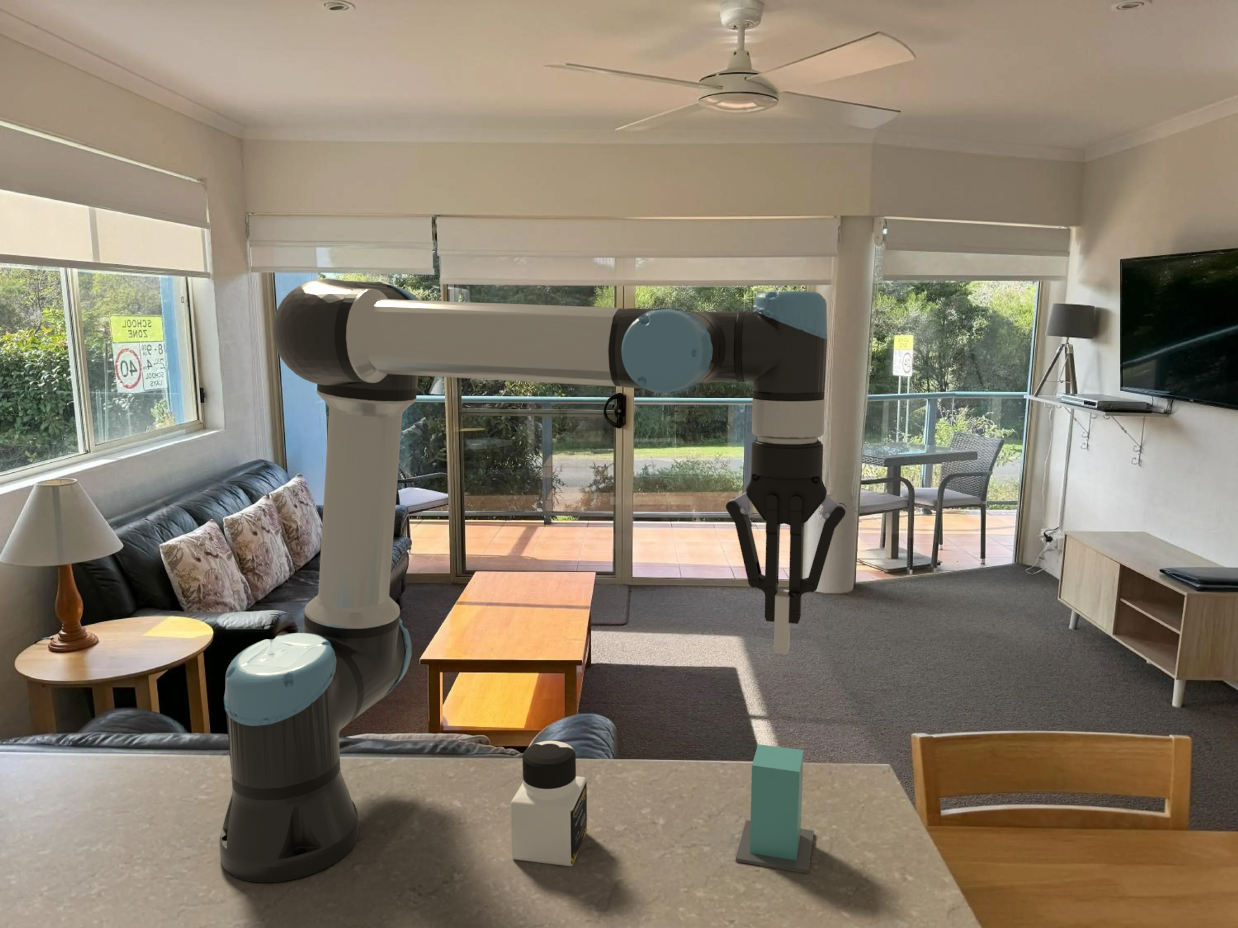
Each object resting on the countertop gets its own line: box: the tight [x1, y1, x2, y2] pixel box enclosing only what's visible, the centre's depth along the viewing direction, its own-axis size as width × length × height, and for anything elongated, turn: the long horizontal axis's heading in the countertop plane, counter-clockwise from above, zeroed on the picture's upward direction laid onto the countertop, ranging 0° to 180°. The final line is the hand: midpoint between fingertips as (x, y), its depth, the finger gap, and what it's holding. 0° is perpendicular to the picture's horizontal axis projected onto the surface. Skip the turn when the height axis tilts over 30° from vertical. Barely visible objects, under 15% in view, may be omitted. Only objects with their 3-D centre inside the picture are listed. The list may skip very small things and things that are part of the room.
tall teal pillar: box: [750, 743, 804, 861], centre depth 101 cm, size 5×5×11 cm
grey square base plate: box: [735, 819, 815, 874], centre depth 101 cm, size 8×8×7 cm
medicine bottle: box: [510, 740, 588, 867], centre depth 101 cm, size 7×7×12 cm
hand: (781, 649), depth 98 cm, fingers closed
